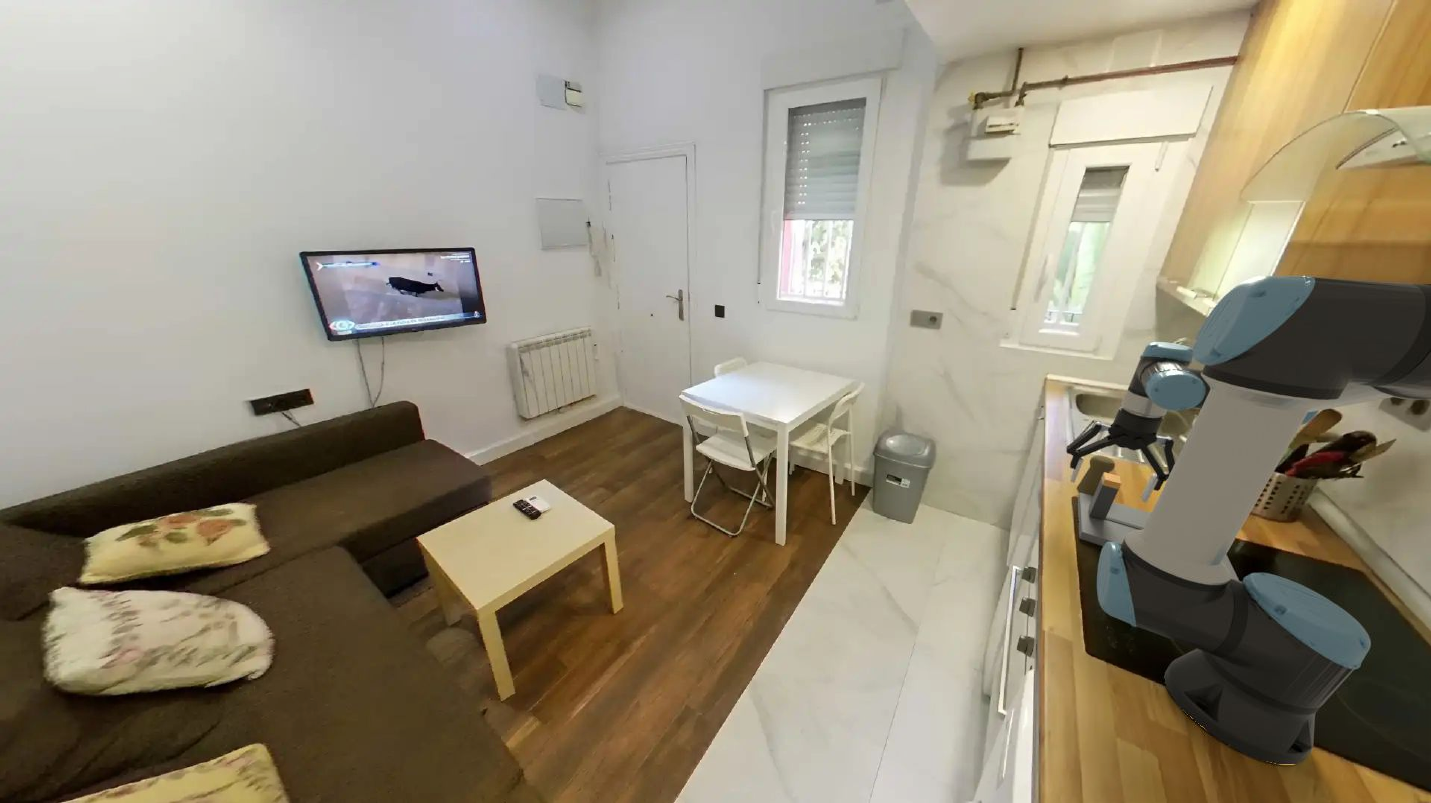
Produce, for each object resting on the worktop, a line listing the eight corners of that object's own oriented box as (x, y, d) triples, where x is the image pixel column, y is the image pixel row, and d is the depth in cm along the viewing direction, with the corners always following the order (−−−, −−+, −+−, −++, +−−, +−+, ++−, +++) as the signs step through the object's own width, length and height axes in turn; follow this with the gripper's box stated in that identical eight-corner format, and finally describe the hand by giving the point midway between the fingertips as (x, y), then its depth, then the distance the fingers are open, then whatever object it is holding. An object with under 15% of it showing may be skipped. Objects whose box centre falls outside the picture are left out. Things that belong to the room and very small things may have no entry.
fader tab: (1104, 520, 108) (1121, 483, 104) (1089, 515, 110) (1105, 479, 106) (1103, 511, 111) (1119, 476, 107) (1088, 507, 113) (1103, 472, 109)
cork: (1108, 499, 120) (1124, 465, 116) (1083, 496, 121) (1098, 462, 117) (1096, 487, 126) (1110, 453, 121) (1072, 484, 127) (1085, 451, 122)
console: (1235, 589, 92) (1240, 581, 91) (1079, 538, 106) (1082, 530, 105) (1211, 537, 107) (1215, 529, 106) (1077, 498, 121) (1080, 491, 120)
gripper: (1216, 419, 95) (1173, 500, 104) (1072, 392, 109) (1045, 466, 117) (1225, 433, 90) (1179, 516, 98) (1073, 402, 103) (1044, 478, 112)
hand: (1106, 489), depth 108 cm, fingers open, 13 cm apart
